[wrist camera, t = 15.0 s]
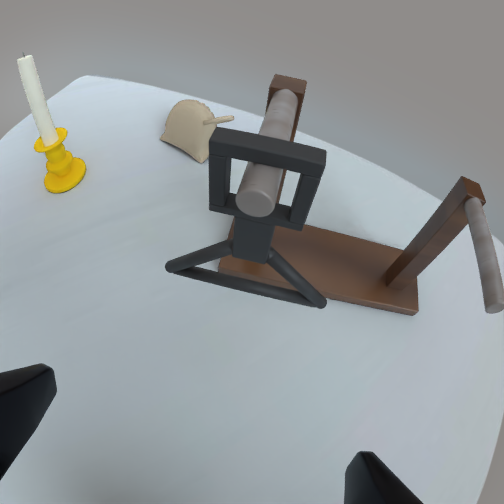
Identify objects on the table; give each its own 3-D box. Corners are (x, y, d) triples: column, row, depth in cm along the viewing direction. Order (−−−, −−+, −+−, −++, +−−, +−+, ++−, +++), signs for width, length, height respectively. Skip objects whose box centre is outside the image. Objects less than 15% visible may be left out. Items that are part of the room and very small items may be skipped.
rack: (411, 372, 21) (562, 287, 8) (200, 331, 21) (173, 174, 9) (410, 258, 27) (502, 140, 14) (236, 215, 27) (252, 51, 15)
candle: (61, 158, 30) (25, 43, 17) (94, 162, 30) (61, 35, 17) (37, 190, 27) (-14, 71, 14) (70, 196, 27) (19, 62, 14)
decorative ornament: (185, 123, 34) (183, 86, 30) (237, 152, 32) (240, 111, 27) (159, 139, 32) (154, 100, 28) (210, 171, 30) (210, 128, 26)
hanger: (164, 274, 17) (125, 128, 9) (168, 262, 18) (136, 115, 9) (323, 312, 17) (412, 191, 9) (325, 299, 17) (408, 174, 9)
